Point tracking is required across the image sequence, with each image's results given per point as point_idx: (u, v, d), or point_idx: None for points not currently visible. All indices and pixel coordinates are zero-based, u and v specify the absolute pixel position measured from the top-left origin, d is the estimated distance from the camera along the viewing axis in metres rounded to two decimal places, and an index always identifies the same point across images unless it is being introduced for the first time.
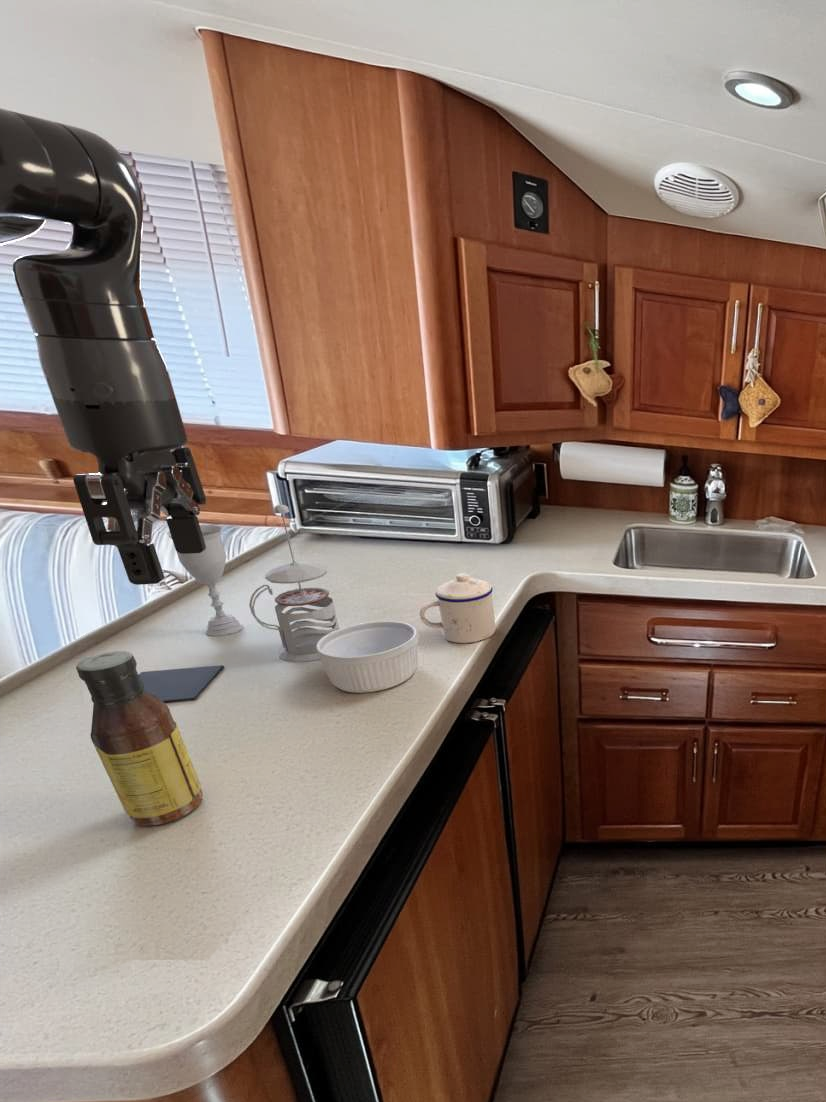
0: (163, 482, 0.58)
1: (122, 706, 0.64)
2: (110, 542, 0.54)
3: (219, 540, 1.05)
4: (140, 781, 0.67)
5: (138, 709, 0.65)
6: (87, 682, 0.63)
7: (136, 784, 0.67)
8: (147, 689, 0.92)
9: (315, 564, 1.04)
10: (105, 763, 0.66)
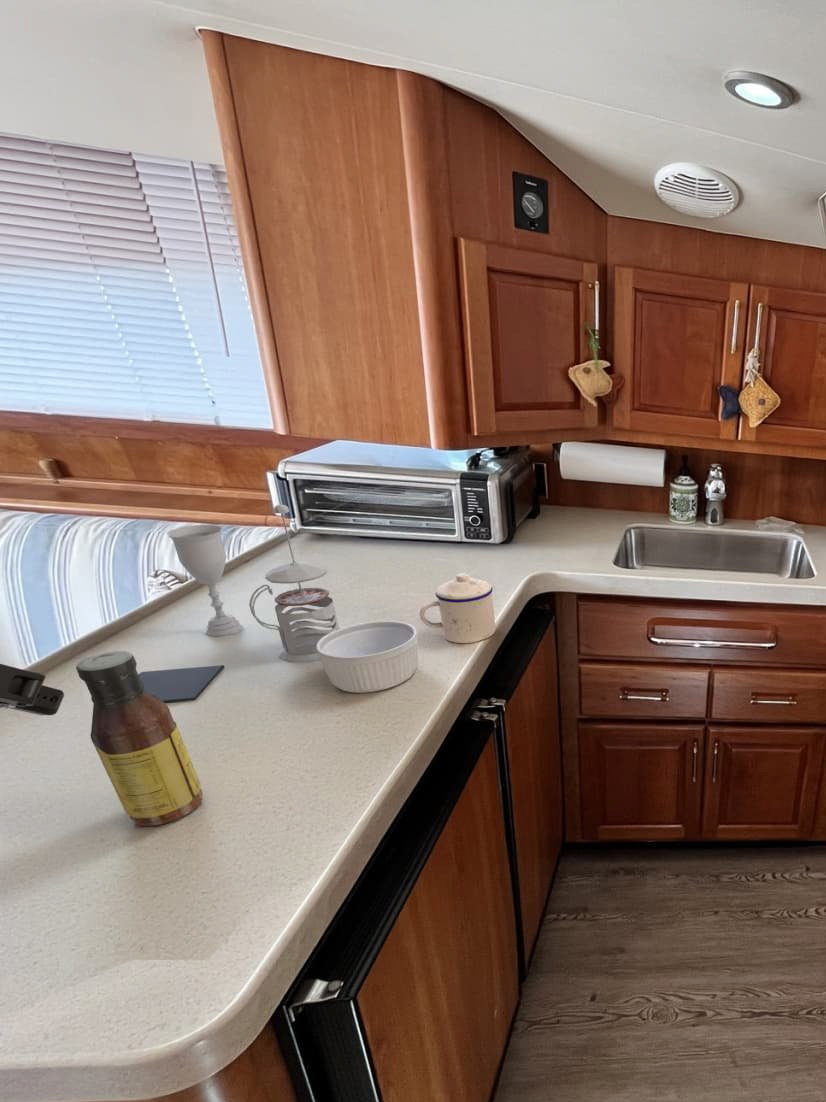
0: None
1: (122, 706, 0.64)
2: None
3: (219, 540, 1.05)
4: (140, 781, 0.67)
5: (138, 709, 0.65)
6: (87, 682, 0.63)
7: (136, 784, 0.67)
8: (147, 689, 0.92)
9: (315, 564, 1.04)
10: (105, 763, 0.66)
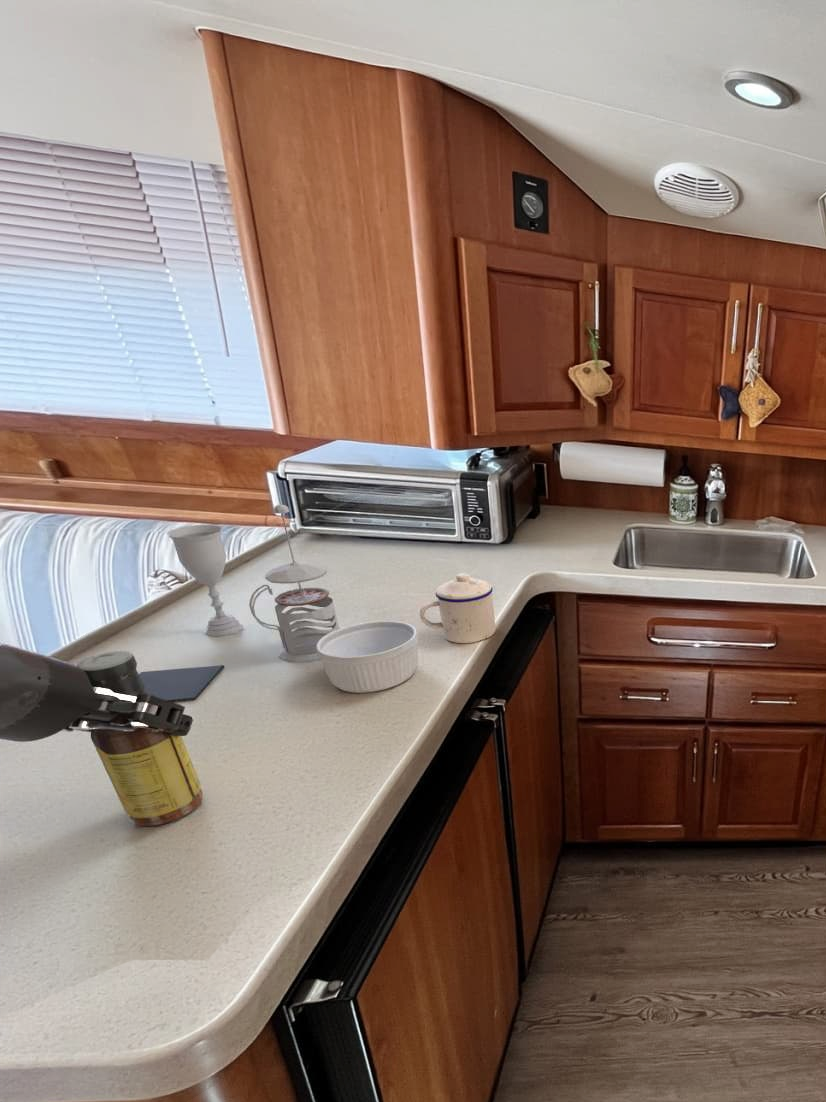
0: None
1: None
2: None
3: (219, 540, 1.05)
4: (140, 781, 0.67)
5: None
6: None
7: (136, 784, 0.67)
8: (147, 689, 0.92)
9: (315, 564, 1.04)
10: (105, 763, 0.66)
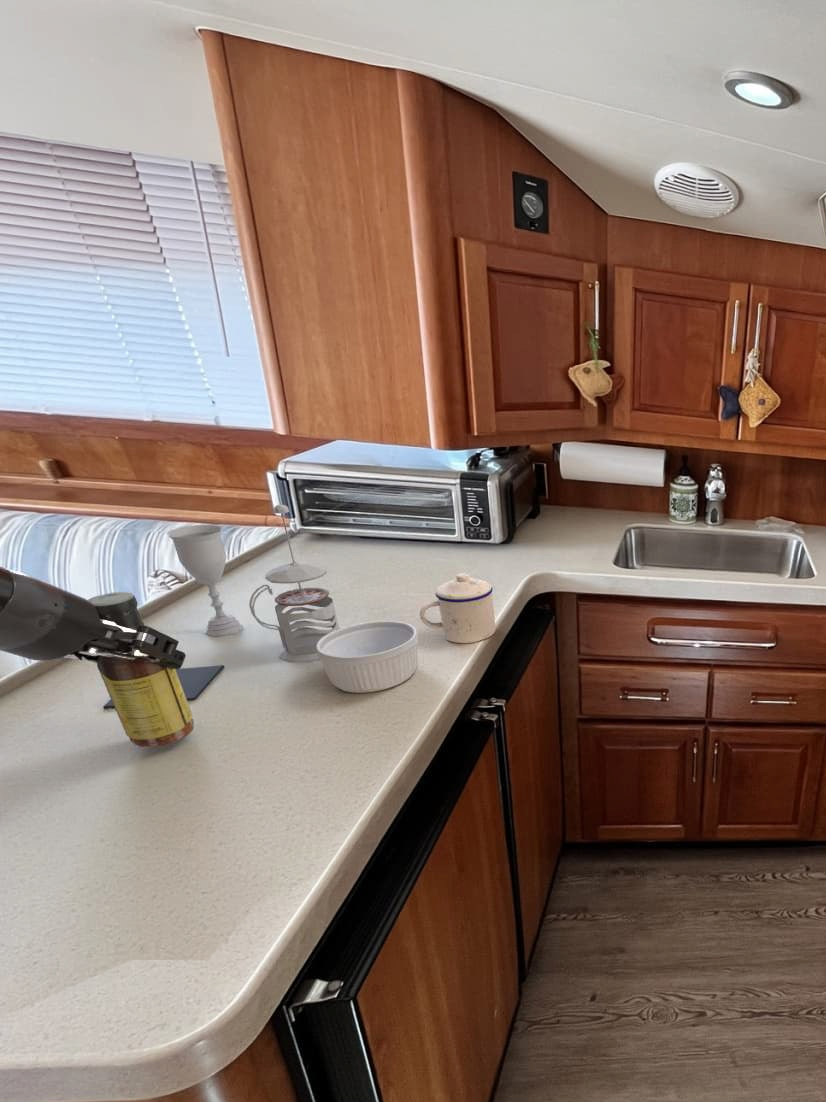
0: None
1: None
2: None
3: (219, 540, 1.05)
4: (139, 705, 0.77)
5: None
6: None
7: (136, 708, 0.77)
8: None
9: (315, 564, 1.04)
10: (109, 689, 0.76)
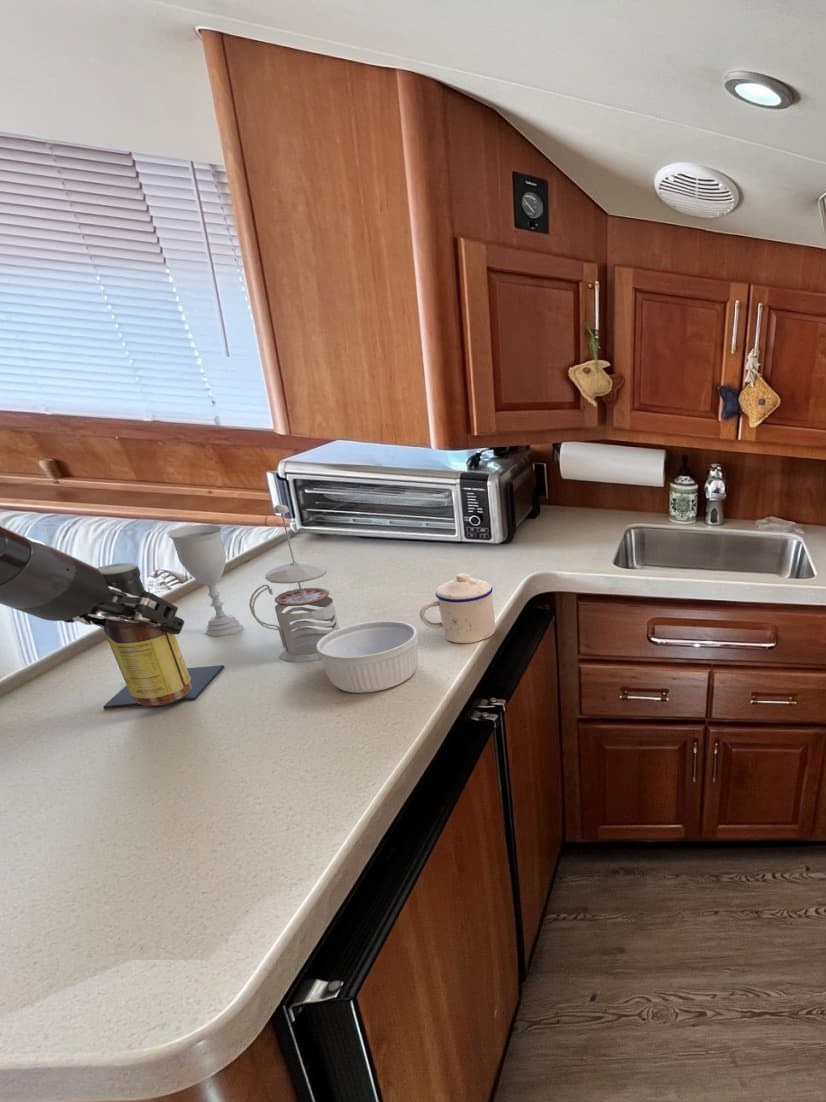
0: (75, 616, 0.78)
1: None
2: None
3: (219, 540, 1.05)
4: (142, 666, 0.85)
5: None
6: None
7: (139, 669, 0.85)
8: None
9: (315, 564, 1.04)
10: (115, 651, 0.84)
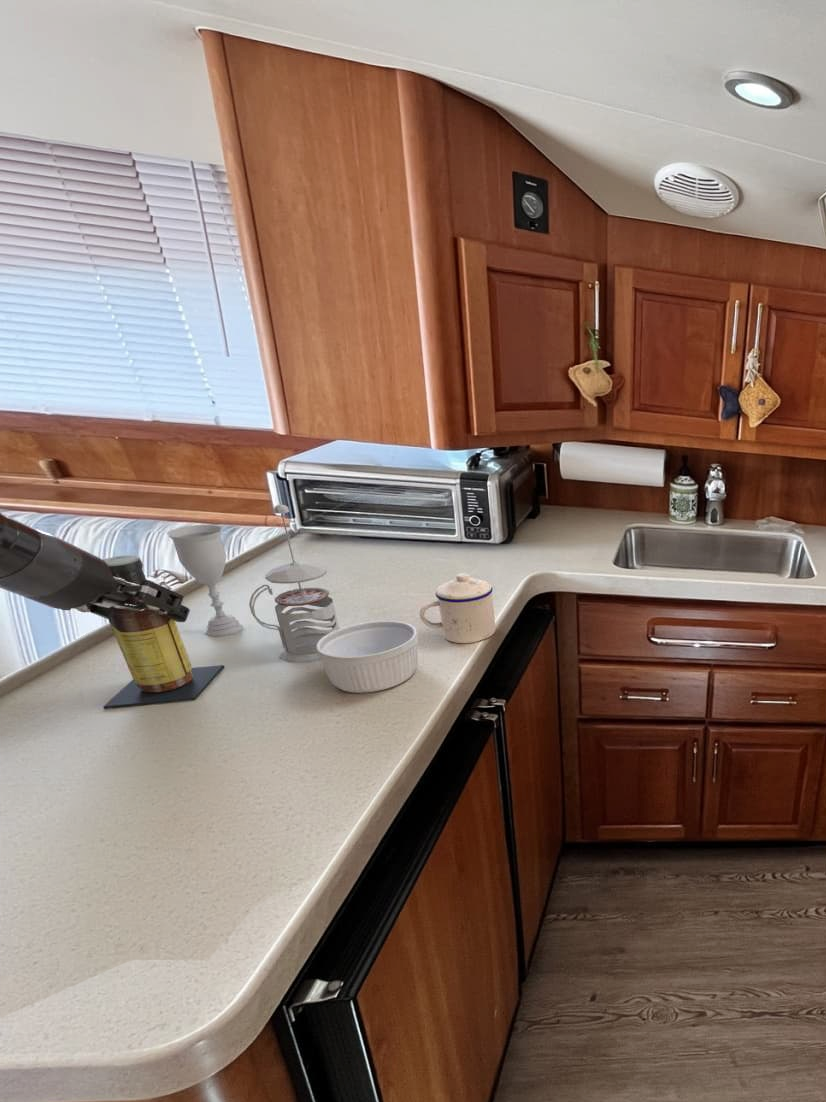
0: (81, 605, 0.82)
1: None
2: None
3: (219, 540, 1.05)
4: (145, 654, 0.89)
5: None
6: None
7: (142, 657, 0.89)
8: None
9: (315, 564, 1.04)
10: (119, 639, 0.87)
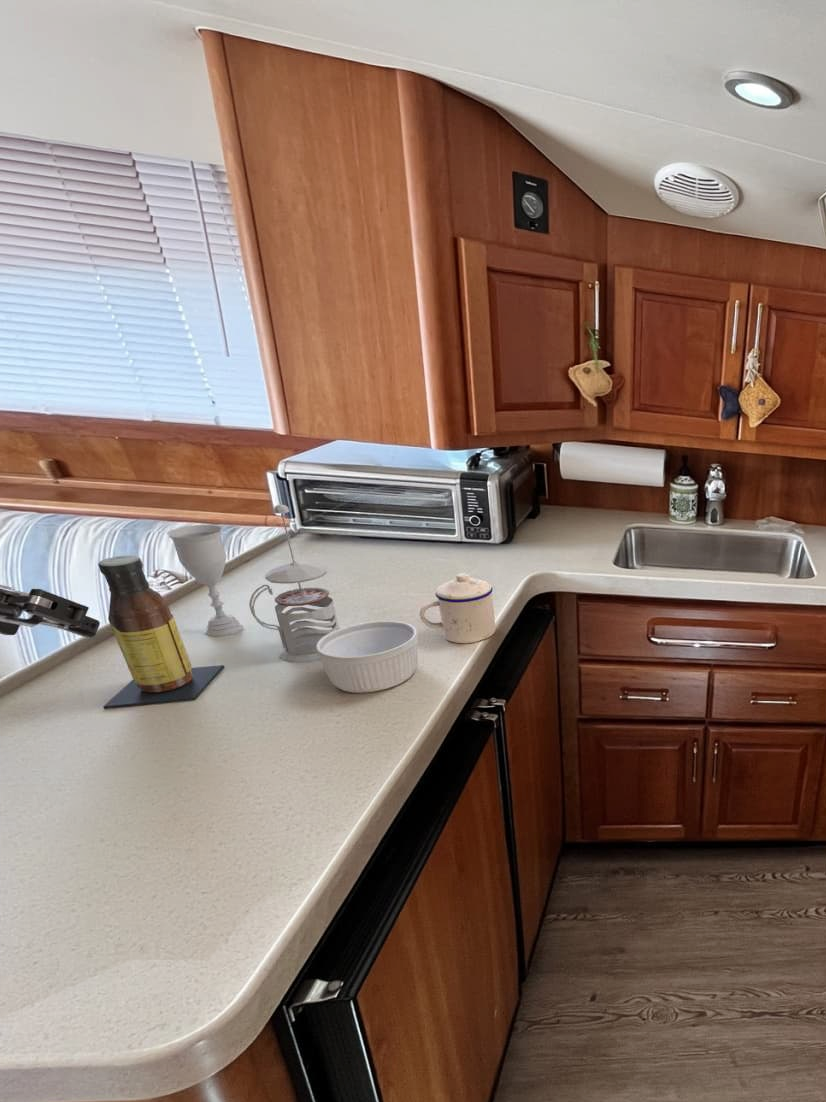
0: None
1: (132, 595, 0.86)
2: None
3: (219, 540, 1.05)
4: (145, 654, 0.89)
5: (143, 599, 0.87)
6: (106, 575, 0.84)
7: (142, 657, 0.89)
8: None
9: (315, 564, 1.04)
10: (119, 639, 0.87)
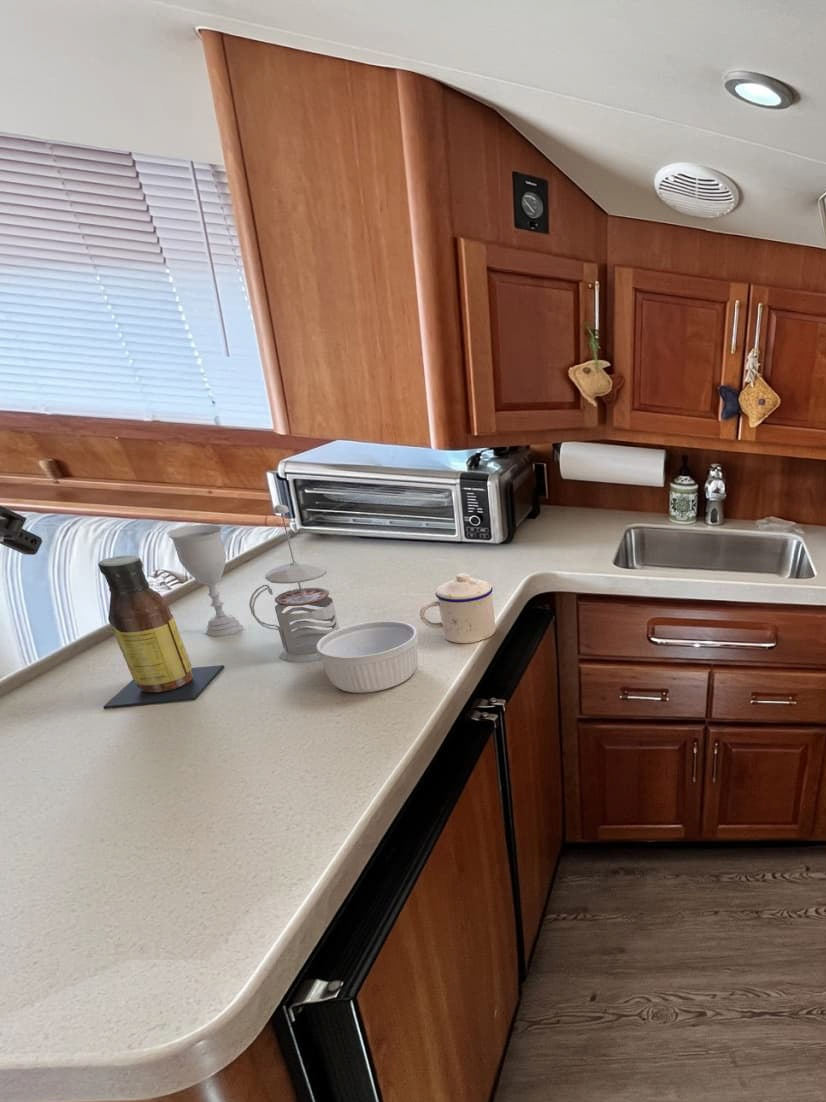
0: None
1: (132, 595, 0.86)
2: None
3: (219, 540, 1.05)
4: (145, 654, 0.89)
5: (143, 599, 0.87)
6: (106, 575, 0.84)
7: (142, 657, 0.89)
8: None
9: (315, 564, 1.04)
10: (119, 639, 0.87)
